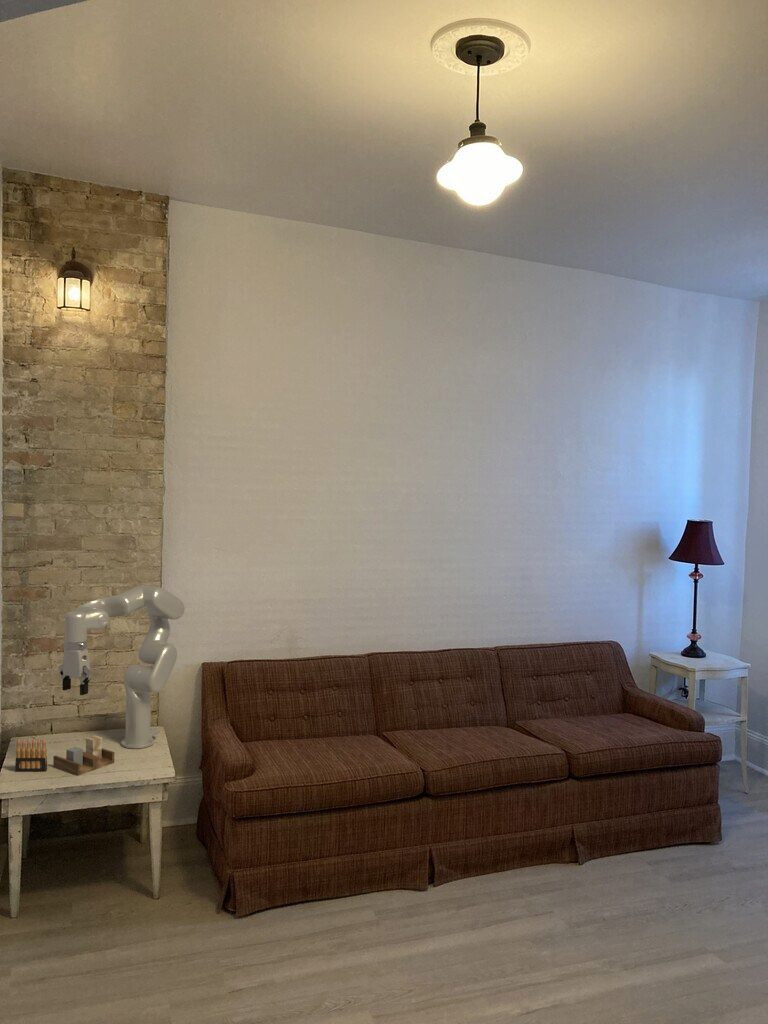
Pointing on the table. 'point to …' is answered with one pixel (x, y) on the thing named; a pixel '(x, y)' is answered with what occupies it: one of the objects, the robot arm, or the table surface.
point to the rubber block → (75, 755)
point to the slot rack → (84, 762)
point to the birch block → (94, 746)
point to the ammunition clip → (31, 757)
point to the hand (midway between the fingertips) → (75, 692)
